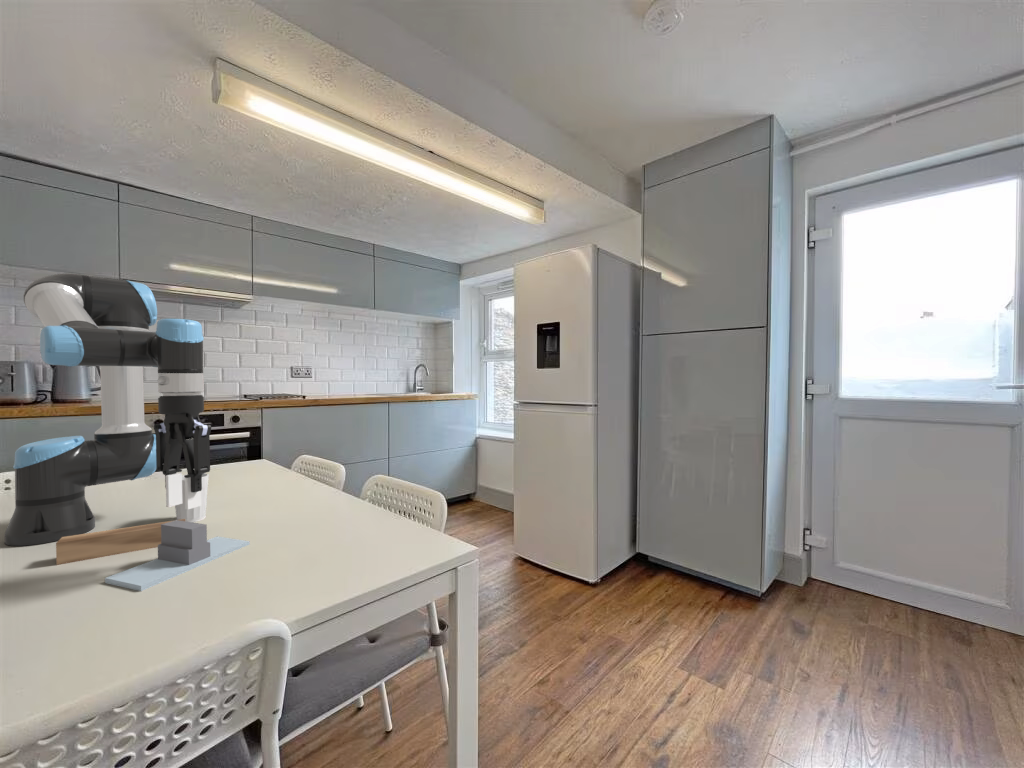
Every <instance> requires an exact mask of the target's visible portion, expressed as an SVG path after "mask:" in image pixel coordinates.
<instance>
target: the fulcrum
mask: <svg viewBox="0 0 1024 768" xmlns="http://www.w3.org/2000/svg"><path fill="white" fill-rule="evenodd" d="M170 521H171V522H168V523H165V524H161V544H159V545H158V547H157V558H155V559H152V560H150V561H147V562H144V563H142V564H139V565H136V566H133V567H132V568H128V569H125V570H123V571H119V572H117V573H114V574H111V575H108V576H107V577H104V583H105V584H108V585H113V586H116V587H117V586H118V587H122V588H126V589H130V590H134V591H139V592H142V591H145V590H148V589H149V588H151V587H154V586H157V585H159V584H160V583H164V582H166V581H168V580H170V579H173V578H175V577H178V576H179V575H183V574H184V573H186V572H189V571H191V570H194V569H196V568H198V567H201V566H204V565H205V564H208V563H210V562H212V560H213V561H216V560H217V559H219V557H220V558H222V557H223V556H226V554H227V555H229V554H231V553H233V551H234V552H236V551H238V550H241V549H242V547H243V548H245V547H247V546H250V545H251V544H250V541H248V540H243V539H238V538H237V539H236V538H230V537H223V536H219V535H217V536H215V537H212V538H210V539H208V536H207V535H208V529H207V528H208V527H207V526H208V525H207V524H205V523H199V522H186V521H179V520H176V519H175V521H173V520H170ZM235 550H236V551H235Z"/></svg>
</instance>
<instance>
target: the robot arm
mask: <svg viewBox="0 0 1024 768" xmlns="http://www.w3.org/2000/svg"><path fill="white" fill-rule="evenodd" d="M23 302H24V303H23V304H24V305H25V307H26V308H27V310H28V312H29V313H30V314H31V315H33V316H34V317H35V318H37V319H39V320H40V322H41V323H42V325H43V327H42V330H41V331H40V336H39V337H40V338H39V351H40V355H41V360H42V361H43V362H44V363H45V364H47V365H51V366H65V367H70V368H71V367H77V366H78V367H99V369H100V370H99V371H100V372H99V373H100V402H101V403H100V405H101V407H100V409H101V426H100V427H99V428H98V429H96V430H95V431H94V435H93V436H94V439H92V440H85V437H84V436H83V435H71V436H69V435H68V436H63V437H62V436H61V437H55V438H54V437H53V438H49V439H44V440H38V441H35V442H34V441H33V442H30V443H26V444H24V445H21V446H20V447H18V448H17V449H16V450H15V452H14V462H13V463H14V464H13V466H12V467H13V469H14V492H15V493H14V495H15V497H14V500H15V508H14V511H13V513H12V516H11V518H10V520H9V523H8V525H7V527H6V530H5V532H4V544H5V545H6V546H13V547H18V546H19V547H21V546H22V547H23V546H34V545H40V544H42V545H43V544H47V543H53V542H58V541H59V540H60V539H61V538H62V537H66V536H73V535H79V534H86V533H88V532H90V531H92V530H93V529H95V528H96V519H95V518H96V517H95V515H94V513H93V512H92V510H91V508H90V505H89V504H88V501H87V500H86V495H85V494H86V493H85V491H86V490H85V489H86V487H90V486H91V487H92V486H97V485H98V486H99V485H105V484H111V483H117V482H123V481H124V482H125V481H134V480H138V479H142V478H147V477H151V476H152V475H153V474H154V473H155V472H156V471H157V472H162V475H164V485H165V486H164V487H165V499H166V500H165V504H166V507H167V508H170V507H171V508H172V507H175V505H179V504H182V475H183V473H182V471H183V469H181V468H180V463H181V458H182V453H183V456H184V461H185V466H186V471H187V473H186V474H188V475H186V474H184V475H185V476H184V477H185V509H192V508H195V507H199V506H201V490H202V475H203V474H204V473H206V474H207V473H209V472H210V471H211V452H210V451H211V450H210V449H211V448H210V447H211V446H210V445H211V444H210V436H211V431H212V426H211V424H203V423H202V422H201V419H200V413H203V412H204V411H205V396H204V395H203V394H201V393H203V392H204V391H205V384H204V383H205V382H204V379H205V377H204V340H205V338H204V336H203V335H204V334H203V325H202V324H201V322H199V321H197V320H193V319H188V318H187V319H186V318H185V319H184V318H161V319H159V320H158V321H157V319H158V306H157V301H156V298H155V295H154V293H153V292H152V290H151V288H150V287H149V286H147V285H146V284H145V283H141V282H137V281H130V280H129V279H128V280H127V279H117V278H111V277H110V278H108V277H103V276H92V275H85V274H80V273H70V272H68V273H67V272H63V273H57V274H50V275H46V276H42V277H40V278H38V279H36V280H34V281H32V282H31V283H30V284H29V285H28V286H27V287H26V289H24V293H23ZM154 325H156V330H155V331H150V327H152V326H154ZM145 367H149V368H150V367H151V368H157V385H158V387H157V389H158V391H157V392H158V394H159V393H160V394H161V395H160V396H159V397H157V403H158V410H157V411H158V413H159V414H160V415H164V418H163V422H161V423H155V424H153V428H151V427H150V426H149V425H147V423H145V391H144V368H145ZM153 431H154V433H153Z"/></svg>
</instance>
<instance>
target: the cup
mask: <svg viewBox="0 0 1024 768" xmlns="http://www.w3.org/2000/svg"><path fill="white" fill-rule="evenodd" d="M185 475H188V473H186V474H182V504H179V505H175V506H174V509H175V517H176V519H175V520H180V519H185V521H186V522H193V523H198V522H199V521H203V520H204V519H206V517H207V514H206V513H207V501H208V488H209V487H208V486H209V478H210V477H209V475H210V474H209V473H207V472H206V473H204V474H203V475H202V490H201V506H199V507H195V508H192V509H185V477H184V476H185Z"/></svg>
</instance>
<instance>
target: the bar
mask: <svg viewBox="0 0 1024 768" xmlns="http://www.w3.org/2000/svg"><path fill="white" fill-rule="evenodd" d="M175 520H176V519H175ZM175 520H174V519H173V520H168V521H162V522H160V521H159V522H155V523H154V522H153V523H148V524H141V525H136V526H128V527H121V528H114V529H108V530H100V531H94V532H89V533H88V532H86V533H83V534H79V535H73V536H66V537H62V538H61V539H60V540H58V541H56V542H55V552H56V553H55V554H56V557H55V558H56V561H55V562H56V566H59V565H66V564H72V563H75V562H76V563H77V562H83V561H87V560H93V559H100V558H104V557H110V556H116V555H122V554H127V553H128V554H129V553H132V552H133V553H134V552H139V551H144V550H149V549H156V548H158V545H159V544H161V524H165V523H168V522H171V521H175ZM179 521H185V519H180V520H179Z"/></svg>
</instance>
